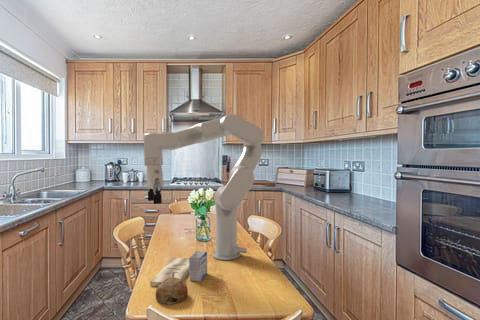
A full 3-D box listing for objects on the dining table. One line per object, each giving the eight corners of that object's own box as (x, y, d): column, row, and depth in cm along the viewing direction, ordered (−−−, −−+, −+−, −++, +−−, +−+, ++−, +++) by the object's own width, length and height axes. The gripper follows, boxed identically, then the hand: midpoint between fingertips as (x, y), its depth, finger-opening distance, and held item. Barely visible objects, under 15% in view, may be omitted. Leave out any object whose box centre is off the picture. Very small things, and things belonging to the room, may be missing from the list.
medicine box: (200, 282, 107) (200, 258, 107) (189, 281, 108) (188, 257, 108) (207, 273, 115) (207, 251, 115) (196, 272, 116) (196, 250, 116)
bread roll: (157, 316, 92) (158, 298, 88) (153, 289, 100) (154, 272, 97) (188, 309, 96) (191, 292, 92) (182, 284, 104) (184, 267, 101)
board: (195, 261, 127) (195, 258, 127) (178, 287, 103) (178, 282, 103) (172, 261, 128) (172, 257, 128) (150, 285, 104) (150, 281, 104)
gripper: (168, 162, 122) (169, 204, 122) (157, 161, 137) (158, 198, 137) (149, 162, 118) (150, 206, 118) (140, 161, 133) (141, 200, 133)
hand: (154, 202), depth 128 cm, fingers open, 9 cm apart
